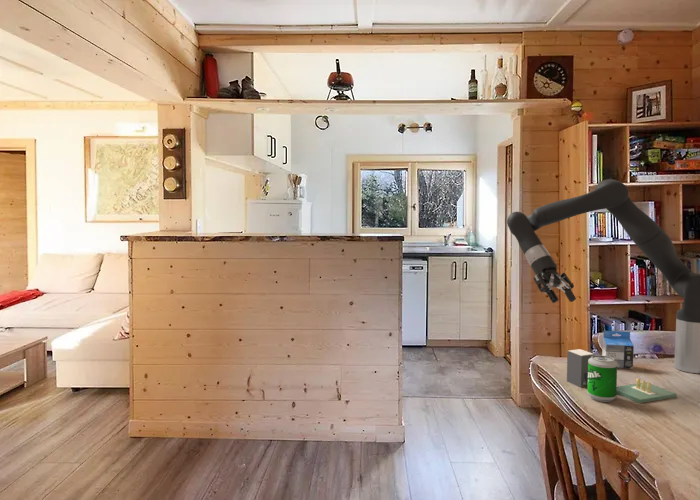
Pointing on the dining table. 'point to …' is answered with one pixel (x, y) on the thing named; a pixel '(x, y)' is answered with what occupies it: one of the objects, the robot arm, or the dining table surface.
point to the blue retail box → (618, 348)
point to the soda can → (602, 378)
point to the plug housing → (578, 367)
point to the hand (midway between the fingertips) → (564, 301)
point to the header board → (644, 392)
